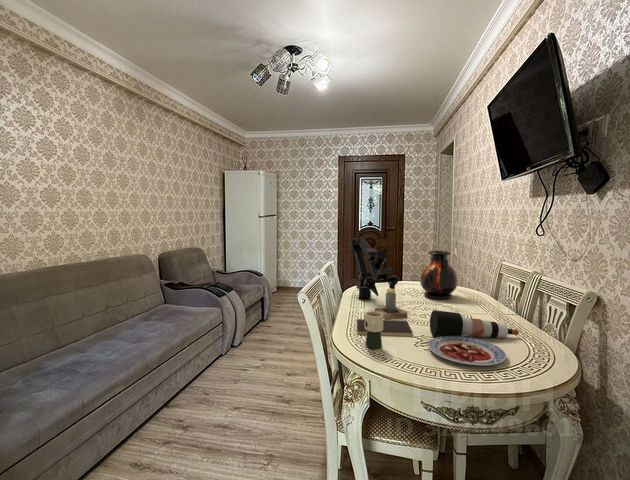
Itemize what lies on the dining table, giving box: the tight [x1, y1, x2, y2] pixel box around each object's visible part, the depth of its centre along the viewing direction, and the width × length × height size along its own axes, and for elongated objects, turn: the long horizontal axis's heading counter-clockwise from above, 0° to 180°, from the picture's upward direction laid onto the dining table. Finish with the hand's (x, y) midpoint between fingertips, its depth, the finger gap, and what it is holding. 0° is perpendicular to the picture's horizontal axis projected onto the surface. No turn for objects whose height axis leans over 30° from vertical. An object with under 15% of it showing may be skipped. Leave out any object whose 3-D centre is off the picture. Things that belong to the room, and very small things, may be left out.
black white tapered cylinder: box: [429, 309, 519, 339], centre depth 138 cm, size 10×34×10 cm, turn 86°
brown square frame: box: [374, 306, 408, 320], centre depth 169 cm, size 12×12×2 cm
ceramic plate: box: [428, 335, 507, 366], centre depth 122 cm, size 26×26×3 cm
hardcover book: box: [356, 318, 414, 337], centre depth 148 cm, size 16×23×2 cm
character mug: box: [364, 310, 384, 349], centre depth 128 cm, size 11×7×13 cm, turn 168°
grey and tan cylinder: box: [385, 288, 397, 313], centre depth 168 cm, size 5×5×13 cm
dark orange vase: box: [419, 250, 459, 301], centre depth 203 cm, size 22×22×28 cm
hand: (386, 295), depth 173 cm, fingers open, 9 cm apart
